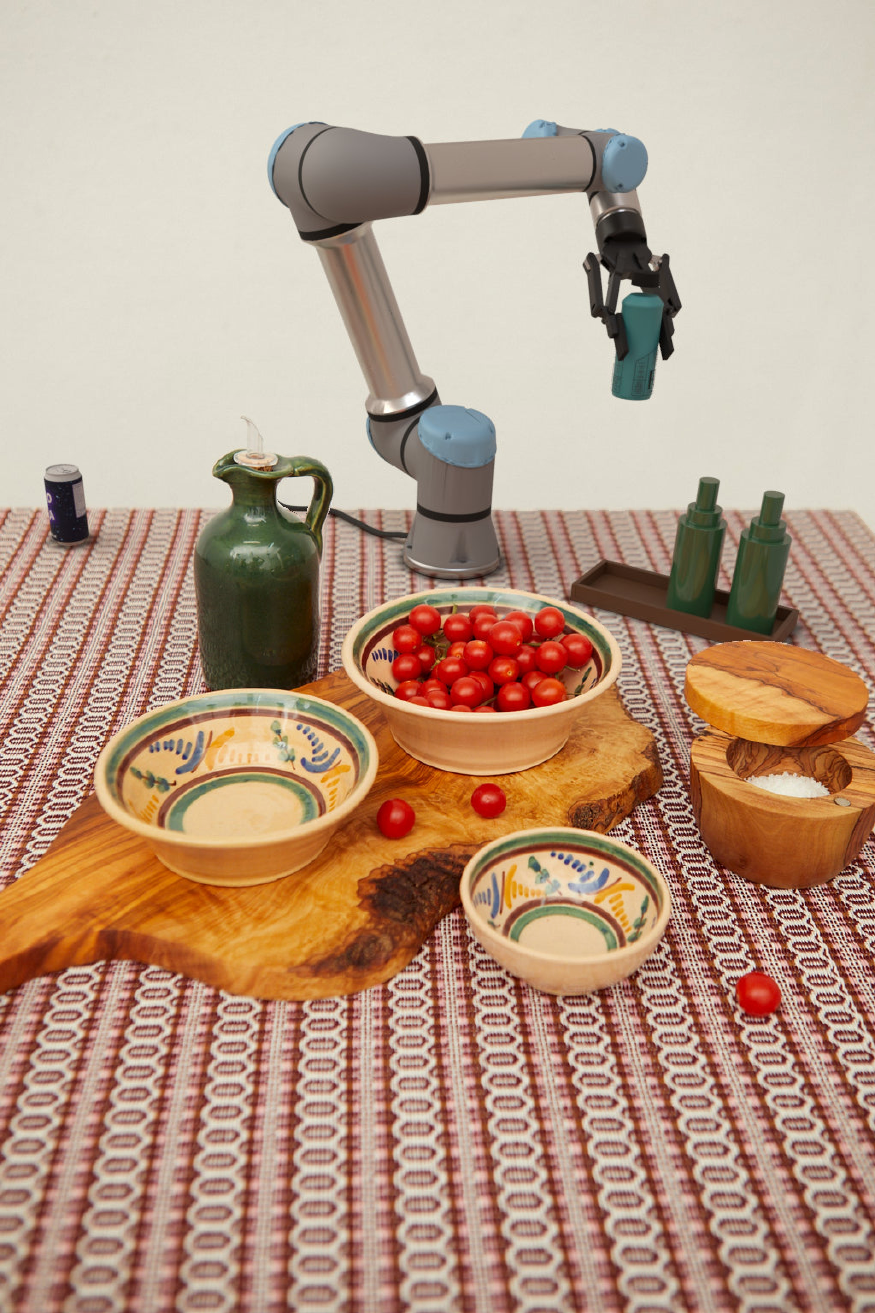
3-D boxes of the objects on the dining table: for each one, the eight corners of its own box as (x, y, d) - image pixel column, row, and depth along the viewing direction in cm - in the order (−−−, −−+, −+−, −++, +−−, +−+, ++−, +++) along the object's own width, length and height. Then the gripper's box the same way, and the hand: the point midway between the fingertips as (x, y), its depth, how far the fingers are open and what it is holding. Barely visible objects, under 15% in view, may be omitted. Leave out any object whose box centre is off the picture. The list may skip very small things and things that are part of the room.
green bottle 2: (717, 629, 155) (741, 495, 145) (733, 612, 160) (757, 481, 150) (764, 642, 151) (792, 506, 142) (779, 624, 157) (806, 492, 147)
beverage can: (74, 531, 178) (65, 460, 173) (97, 540, 176) (88, 468, 170) (45, 541, 174) (34, 469, 169) (68, 550, 172) (58, 477, 166)
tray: (569, 599, 163) (571, 583, 162) (602, 573, 172) (603, 558, 170) (772, 657, 149) (775, 640, 148) (796, 626, 158) (799, 609, 157)
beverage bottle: (650, 412, 167) (670, 275, 158) (606, 407, 168) (624, 271, 159) (651, 401, 173) (670, 268, 163) (608, 397, 174) (625, 265, 164)
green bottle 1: (657, 613, 159) (677, 481, 149) (674, 596, 164) (694, 468, 154) (702, 625, 156) (725, 491, 146) (718, 608, 161) (741, 478, 151)
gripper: (666, 240, 175) (695, 368, 169) (551, 239, 171) (576, 369, 165) (686, 209, 168) (716, 341, 162) (566, 206, 164) (593, 342, 158)
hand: (646, 355), depth 163 cm, fingers closed on beverage bottle, 6 cm apart
